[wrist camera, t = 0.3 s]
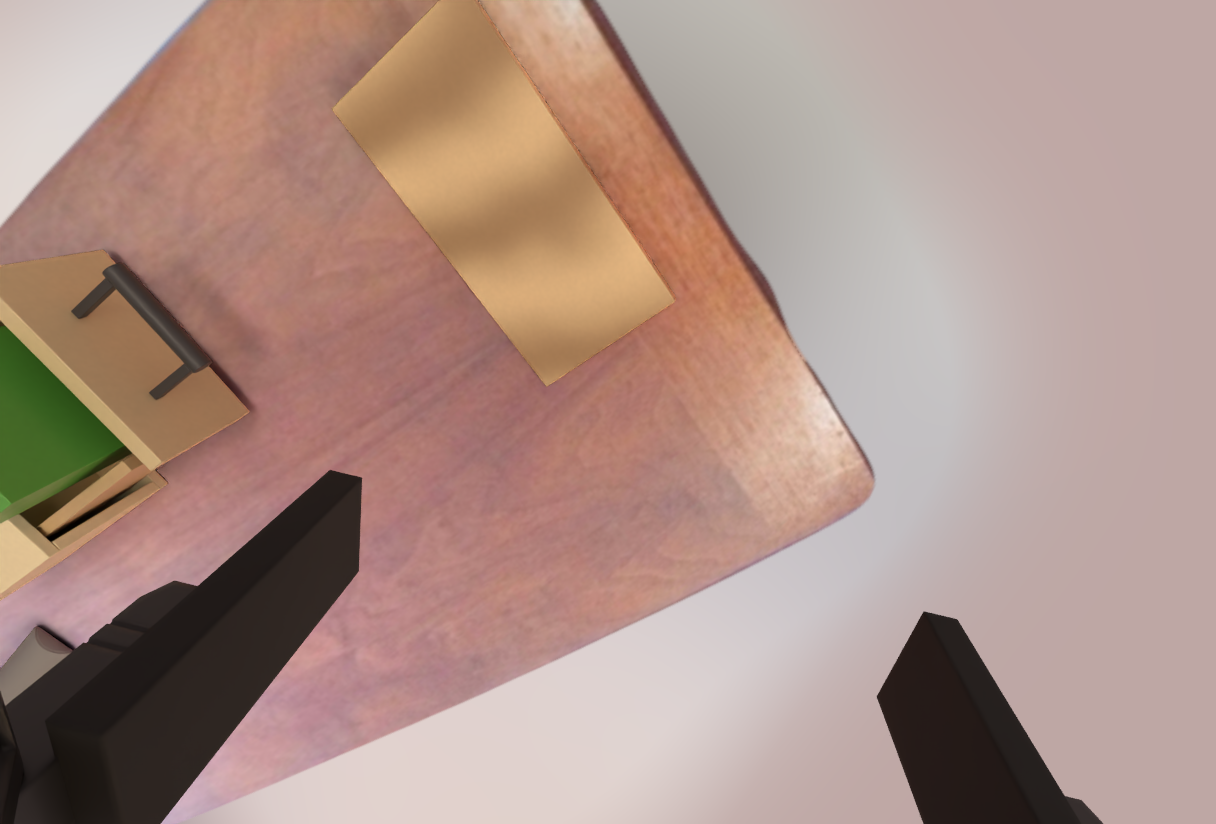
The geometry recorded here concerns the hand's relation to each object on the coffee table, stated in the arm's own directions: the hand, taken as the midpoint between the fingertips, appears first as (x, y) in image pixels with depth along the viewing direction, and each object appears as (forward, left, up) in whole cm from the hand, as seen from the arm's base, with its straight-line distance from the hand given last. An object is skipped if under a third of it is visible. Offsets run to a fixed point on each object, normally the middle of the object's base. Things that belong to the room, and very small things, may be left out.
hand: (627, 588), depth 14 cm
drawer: (+12, -35, -24) cm, 44 cm away
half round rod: (+50, -52, -26) cm, 77 cm away
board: (-5, -10, -25) cm, 28 cm away
